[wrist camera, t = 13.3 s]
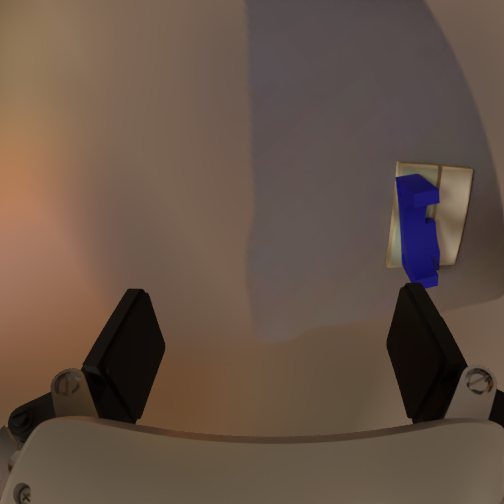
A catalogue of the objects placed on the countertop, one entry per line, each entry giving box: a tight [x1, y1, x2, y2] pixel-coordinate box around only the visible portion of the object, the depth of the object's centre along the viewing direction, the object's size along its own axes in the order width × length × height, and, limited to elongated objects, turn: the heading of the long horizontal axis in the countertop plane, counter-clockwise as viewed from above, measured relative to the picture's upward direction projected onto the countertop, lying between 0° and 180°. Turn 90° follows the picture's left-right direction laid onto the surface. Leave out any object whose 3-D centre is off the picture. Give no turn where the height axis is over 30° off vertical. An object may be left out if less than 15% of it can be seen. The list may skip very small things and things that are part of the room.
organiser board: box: [385, 161, 473, 268], centre depth 35 cm, size 14×11×2 cm
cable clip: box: [395, 174, 440, 288], centre depth 32 cm, size 12×4×6 cm, turn 16°
